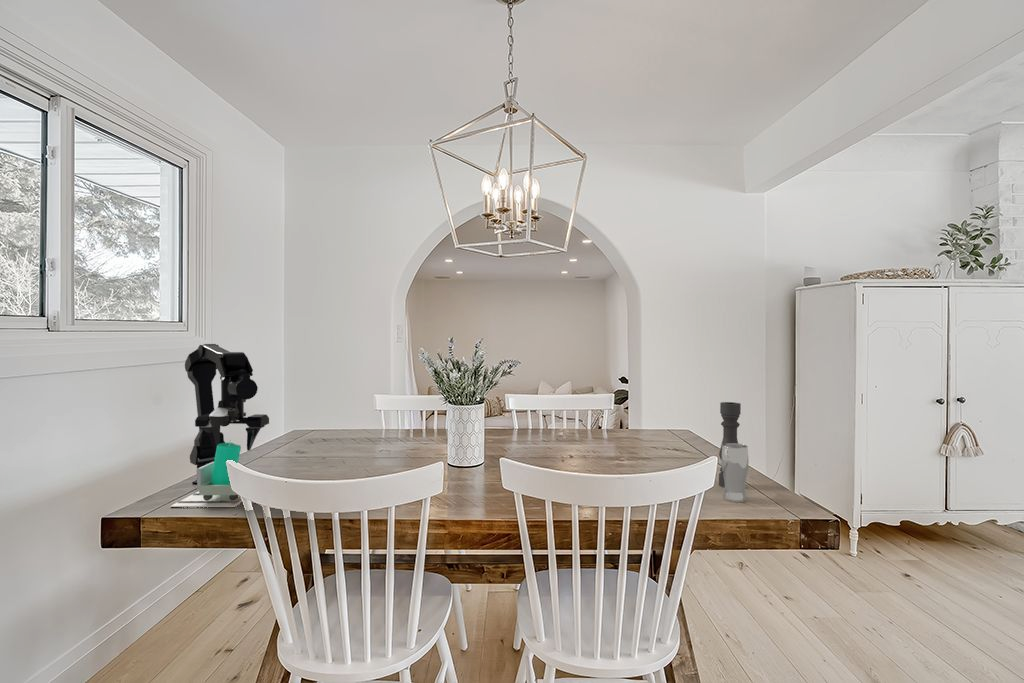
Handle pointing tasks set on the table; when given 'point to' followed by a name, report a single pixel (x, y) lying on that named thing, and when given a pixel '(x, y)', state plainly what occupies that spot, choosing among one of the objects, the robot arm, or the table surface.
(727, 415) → the candle holder
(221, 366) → the robot arm
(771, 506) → the table surface
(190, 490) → the table surface
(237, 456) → the candle
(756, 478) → the table surface
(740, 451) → the beer glass
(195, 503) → the track
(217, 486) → the cart
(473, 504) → the table surface
